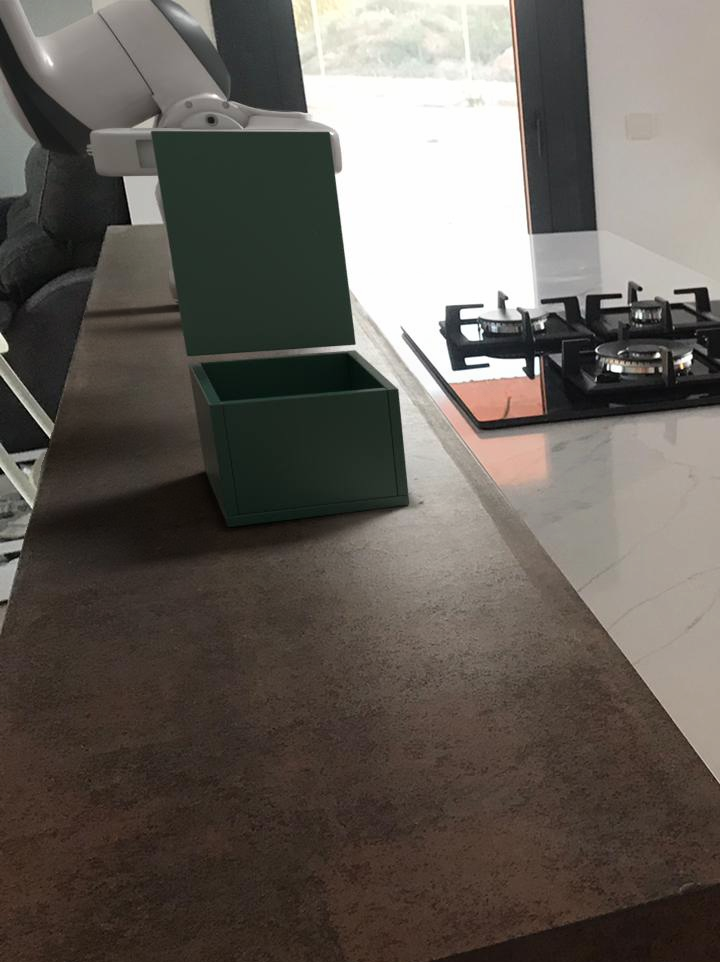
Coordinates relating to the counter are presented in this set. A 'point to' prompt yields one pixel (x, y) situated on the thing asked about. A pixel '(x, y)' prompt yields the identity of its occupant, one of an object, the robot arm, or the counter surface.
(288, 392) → the green open box
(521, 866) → the counter surface
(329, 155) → the lid
